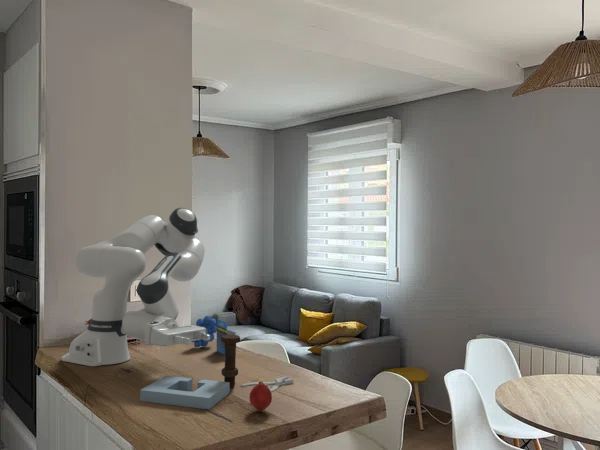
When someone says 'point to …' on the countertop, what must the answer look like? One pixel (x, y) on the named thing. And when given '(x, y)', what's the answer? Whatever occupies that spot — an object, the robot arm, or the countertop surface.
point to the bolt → (230, 358)
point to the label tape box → (220, 332)
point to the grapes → (210, 330)
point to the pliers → (277, 383)
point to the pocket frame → (185, 392)
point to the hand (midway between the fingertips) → (199, 339)
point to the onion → (260, 396)
